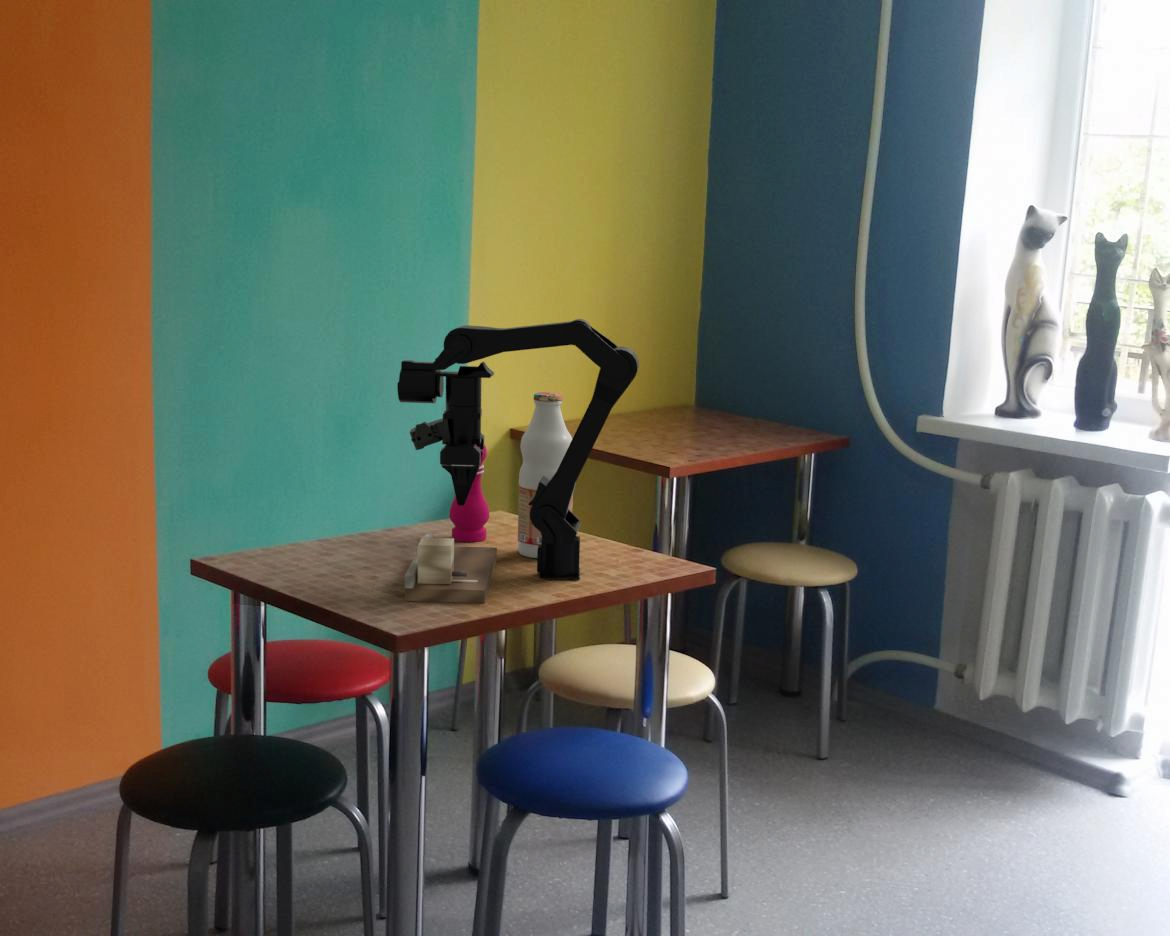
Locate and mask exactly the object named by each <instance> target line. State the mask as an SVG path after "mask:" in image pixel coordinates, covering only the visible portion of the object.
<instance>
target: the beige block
mask: <svg viewBox="0 0 1170 936" xmlns="http://www.w3.org/2000/svg"><path fill="white" fill-rule="evenodd" d="M454 546H455V540H454V538H452V537H451V538H449V537H448V538H446V537H434V538H425V537H421V539H420V541H419V542H418V544H417V551H418V583H421V584H451V582H452V579H453V577H454V576H455V577H467V572H463V571H454Z"/></svg>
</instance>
